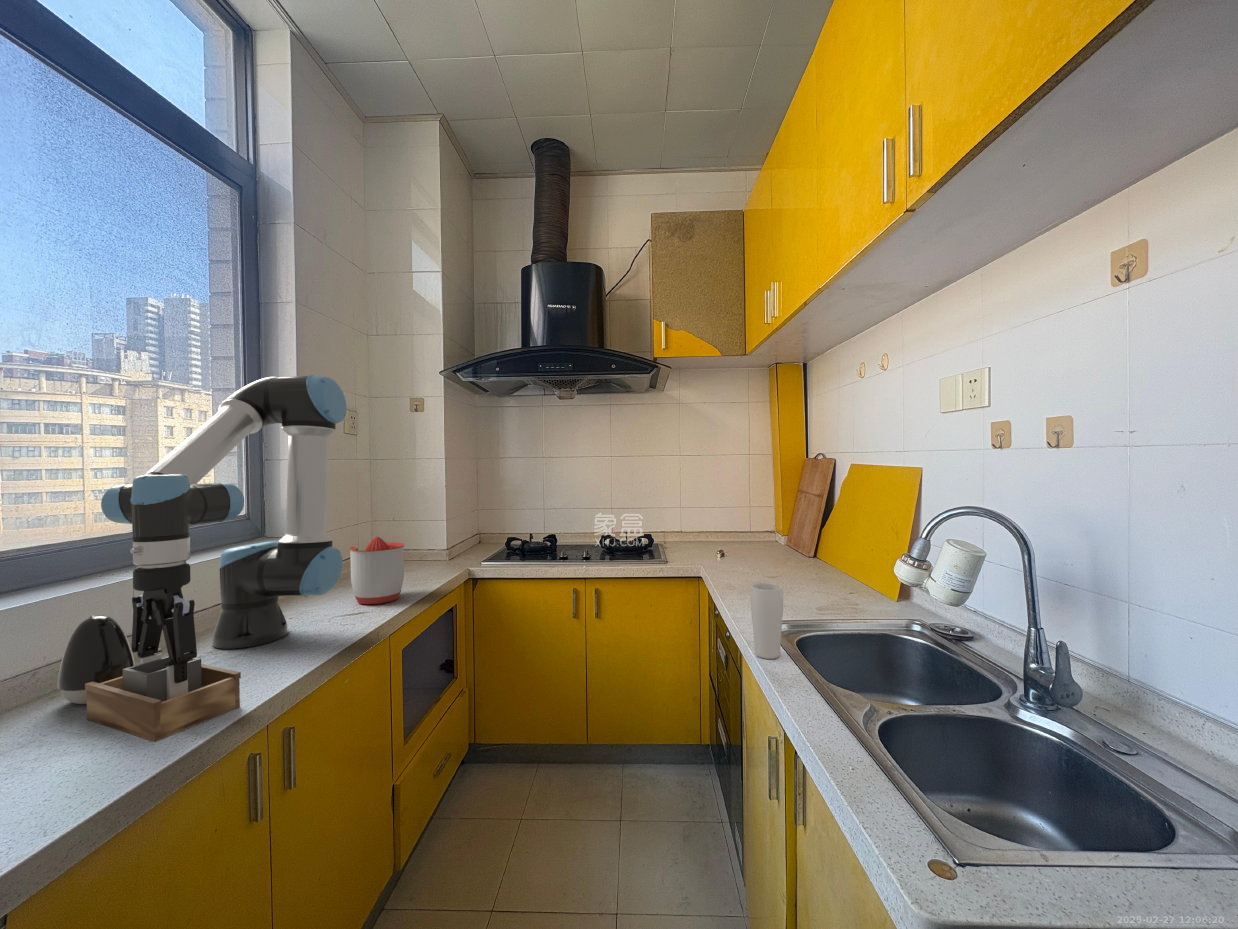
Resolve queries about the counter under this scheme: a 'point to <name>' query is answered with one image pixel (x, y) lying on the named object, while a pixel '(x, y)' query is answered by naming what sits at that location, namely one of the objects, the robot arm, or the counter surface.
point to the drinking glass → (767, 618)
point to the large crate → (163, 705)
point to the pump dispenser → (93, 657)
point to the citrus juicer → (377, 571)
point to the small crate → (158, 678)
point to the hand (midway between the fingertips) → (164, 696)
